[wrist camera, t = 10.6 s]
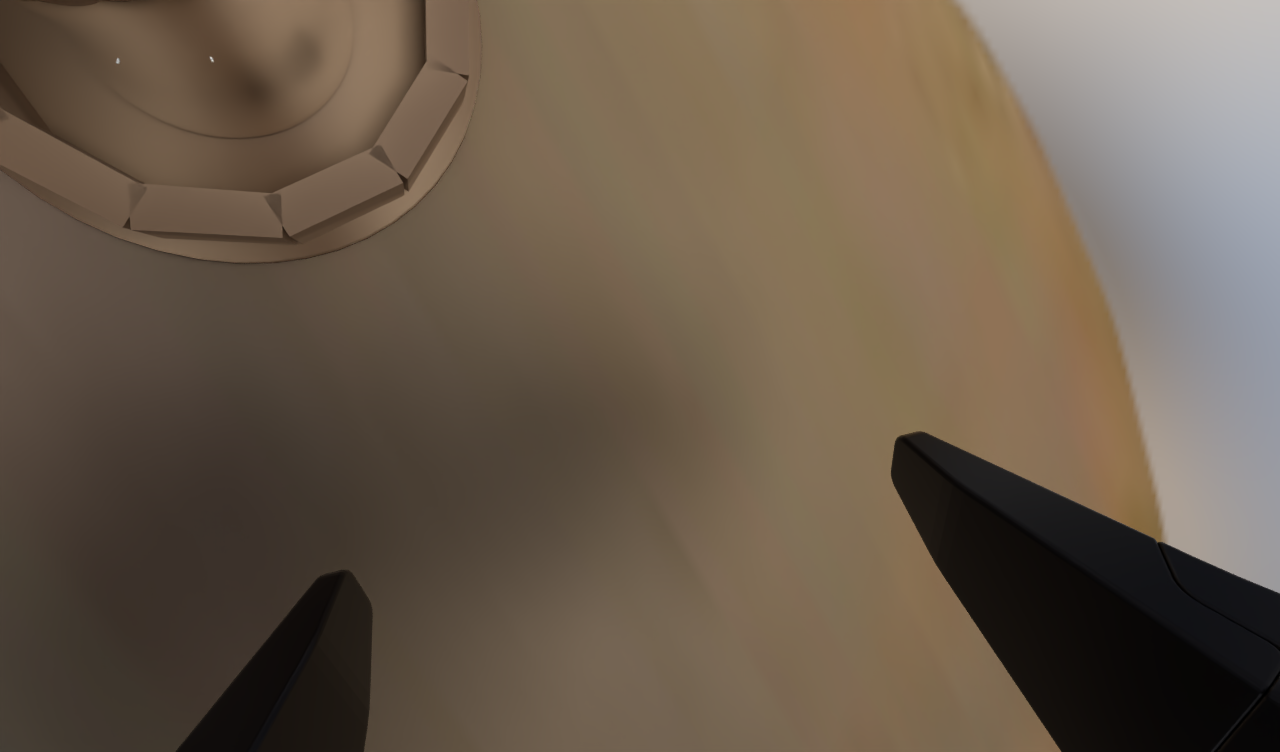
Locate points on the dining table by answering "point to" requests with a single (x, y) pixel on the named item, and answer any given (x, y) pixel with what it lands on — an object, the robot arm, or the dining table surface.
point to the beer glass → (212, 57)
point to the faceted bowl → (246, 141)
